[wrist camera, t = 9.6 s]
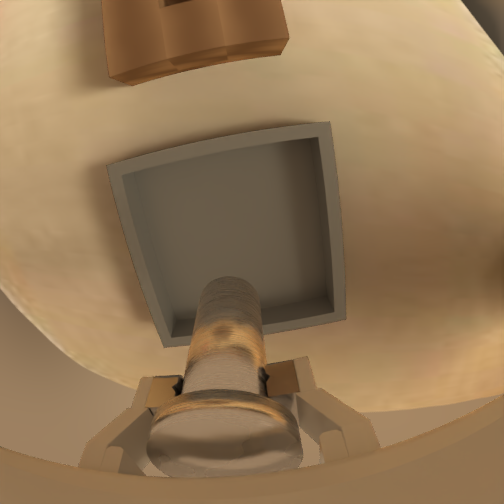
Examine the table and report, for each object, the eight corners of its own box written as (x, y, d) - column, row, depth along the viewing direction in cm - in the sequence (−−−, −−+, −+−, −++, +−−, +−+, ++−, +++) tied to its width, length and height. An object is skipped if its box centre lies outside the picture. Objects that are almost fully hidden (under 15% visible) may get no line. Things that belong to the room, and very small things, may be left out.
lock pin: (266, 255, 15) (298, 407, 6) (278, 330, 16) (306, 481, 8) (176, 270, 15) (119, 420, 6) (198, 342, 16) (177, 491, 8)
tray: (317, 122, 23) (330, 121, 19) (335, 299, 29) (346, 319, 25) (123, 160, 23) (106, 165, 20) (171, 325, 29) (164, 347, 26)
